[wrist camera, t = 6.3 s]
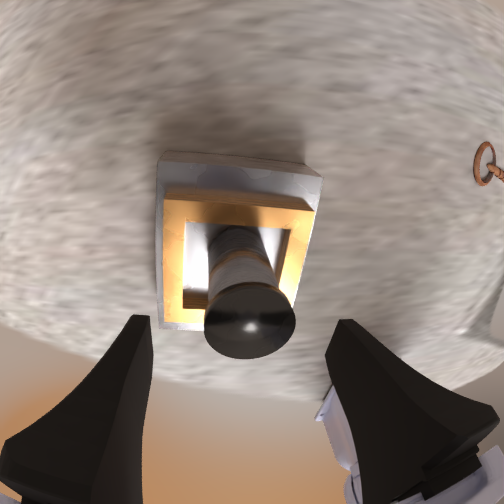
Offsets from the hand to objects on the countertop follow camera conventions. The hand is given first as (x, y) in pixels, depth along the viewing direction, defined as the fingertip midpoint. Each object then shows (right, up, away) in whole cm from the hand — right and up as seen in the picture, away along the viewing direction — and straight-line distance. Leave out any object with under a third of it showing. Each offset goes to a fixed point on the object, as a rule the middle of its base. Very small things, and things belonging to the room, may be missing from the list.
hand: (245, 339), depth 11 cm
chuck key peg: (-1, +3, +5) cm, 6 cm away
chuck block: (-1, +4, +8) cm, 9 cm away
